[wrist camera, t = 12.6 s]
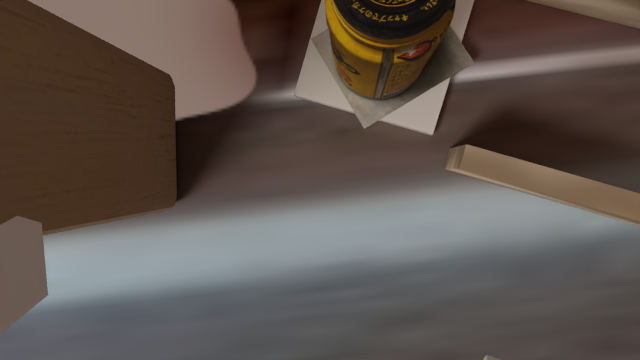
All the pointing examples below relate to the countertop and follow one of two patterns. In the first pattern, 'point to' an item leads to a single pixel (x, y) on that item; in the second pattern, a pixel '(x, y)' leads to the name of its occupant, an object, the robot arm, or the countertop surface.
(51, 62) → the block
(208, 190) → the countertop surface
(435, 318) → the countertop surface
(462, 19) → the trivet
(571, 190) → the open wooden frame
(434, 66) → the condiment
